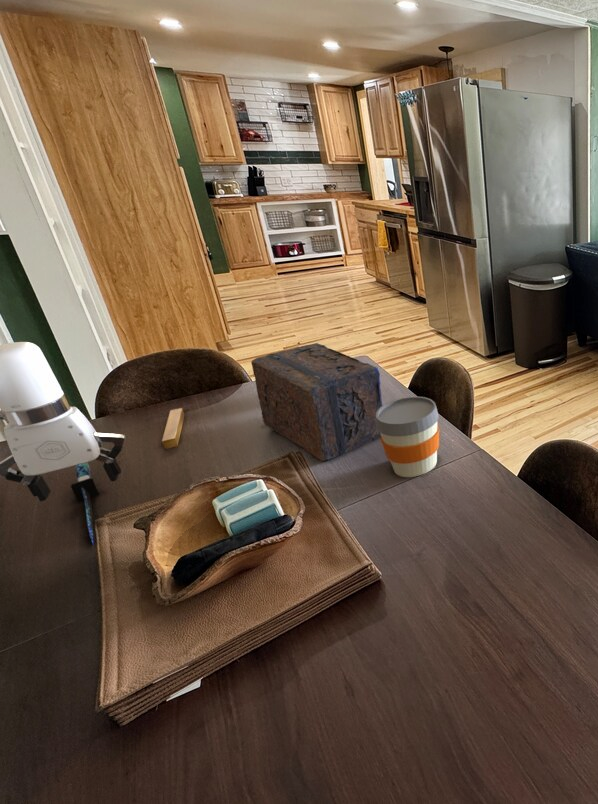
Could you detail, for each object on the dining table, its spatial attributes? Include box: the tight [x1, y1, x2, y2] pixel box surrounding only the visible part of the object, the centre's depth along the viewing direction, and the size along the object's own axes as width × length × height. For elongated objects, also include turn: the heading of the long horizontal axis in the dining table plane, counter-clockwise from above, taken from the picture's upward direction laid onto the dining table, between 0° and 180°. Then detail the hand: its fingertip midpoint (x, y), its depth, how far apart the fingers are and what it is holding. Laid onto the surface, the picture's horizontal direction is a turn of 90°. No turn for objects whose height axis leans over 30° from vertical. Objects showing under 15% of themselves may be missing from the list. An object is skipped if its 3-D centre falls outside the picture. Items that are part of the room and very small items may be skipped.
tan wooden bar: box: [161, 407, 185, 450], centre depth 119 cm, size 2×18×2 cm, turn 35°
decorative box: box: [250, 342, 383, 462], centre depth 117 cm, size 31×20×20 cm
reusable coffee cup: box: [376, 396, 440, 478], centre depth 104 cm, size 13×13×15 cm
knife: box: [70, 462, 100, 545], centre depth 92 cm, size 31×3×4 cm, turn 43°
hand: (81, 486), depth 91 cm, fingers open, 9 cm apart
